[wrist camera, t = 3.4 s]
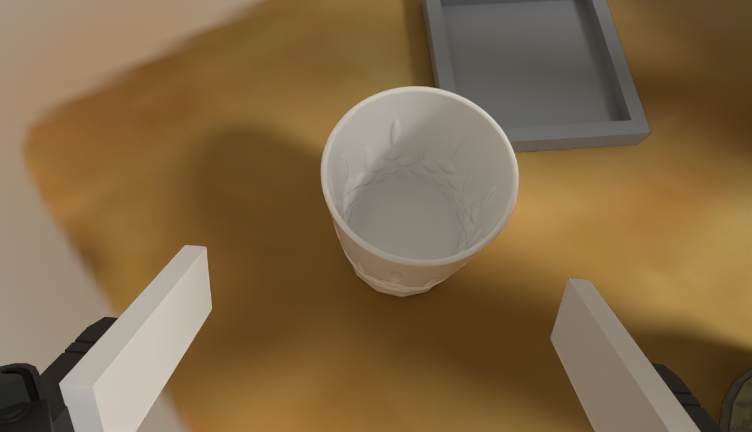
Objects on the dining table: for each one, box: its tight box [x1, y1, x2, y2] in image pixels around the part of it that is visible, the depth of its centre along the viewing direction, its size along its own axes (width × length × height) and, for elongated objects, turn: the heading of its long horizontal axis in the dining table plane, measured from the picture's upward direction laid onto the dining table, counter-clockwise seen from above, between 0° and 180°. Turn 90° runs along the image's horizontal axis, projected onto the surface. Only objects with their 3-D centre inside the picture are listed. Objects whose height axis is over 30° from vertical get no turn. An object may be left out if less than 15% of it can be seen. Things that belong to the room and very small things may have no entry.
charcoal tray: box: [421, 0, 651, 153], centre depth 31 cm, size 13×13×2 cm
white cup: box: [321, 86, 519, 297], centre depth 22 cm, size 8×8×10 cm
